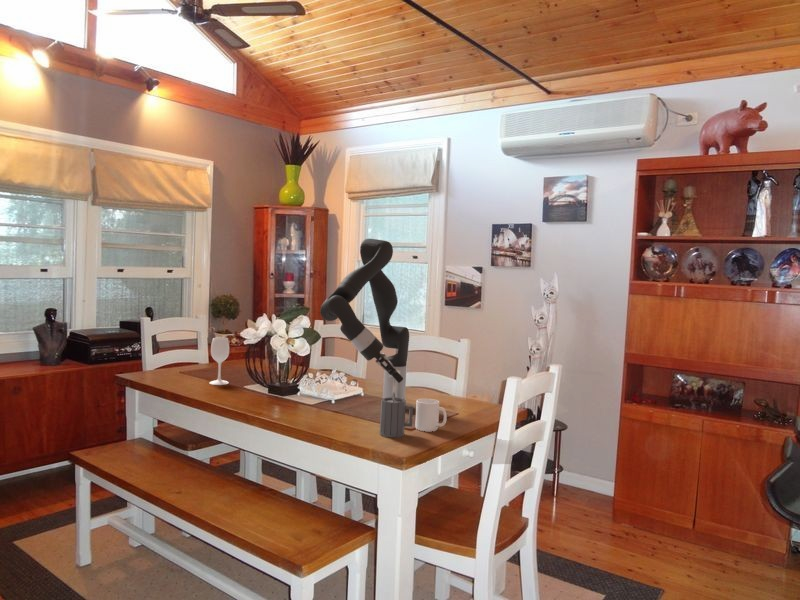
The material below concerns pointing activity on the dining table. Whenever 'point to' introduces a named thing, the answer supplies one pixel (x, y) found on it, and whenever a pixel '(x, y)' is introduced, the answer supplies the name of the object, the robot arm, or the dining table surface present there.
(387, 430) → the gray tankard
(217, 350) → the wineglass
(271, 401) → the dining table surface
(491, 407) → the dining table surface
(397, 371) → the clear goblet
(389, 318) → the robot arm
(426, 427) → the cup
